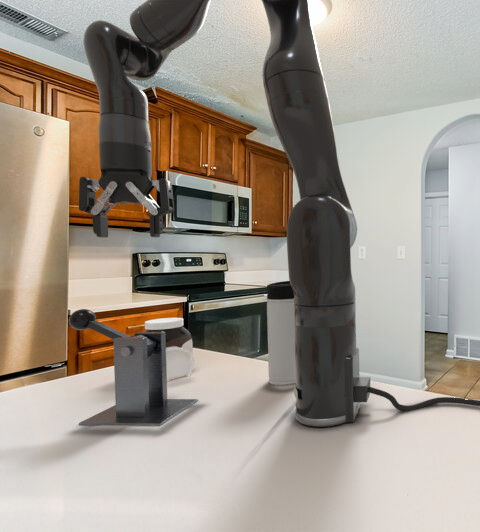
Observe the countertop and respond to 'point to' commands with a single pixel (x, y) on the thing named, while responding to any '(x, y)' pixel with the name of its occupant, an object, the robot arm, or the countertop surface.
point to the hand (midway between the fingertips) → (129, 237)
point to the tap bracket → (140, 385)
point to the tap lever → (101, 327)
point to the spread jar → (175, 346)
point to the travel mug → (281, 334)
